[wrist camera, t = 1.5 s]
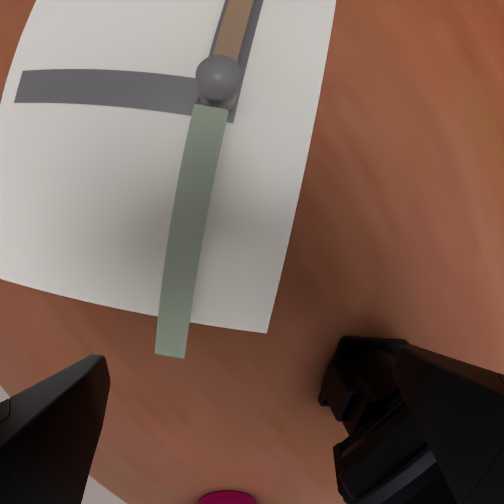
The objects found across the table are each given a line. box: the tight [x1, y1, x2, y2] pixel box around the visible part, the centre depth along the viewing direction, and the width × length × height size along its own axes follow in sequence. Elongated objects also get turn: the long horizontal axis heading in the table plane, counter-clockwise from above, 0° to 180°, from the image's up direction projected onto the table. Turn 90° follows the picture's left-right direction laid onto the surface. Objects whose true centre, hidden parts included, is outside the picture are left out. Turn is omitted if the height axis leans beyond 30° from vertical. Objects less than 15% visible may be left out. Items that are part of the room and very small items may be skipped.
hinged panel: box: [155, 104, 229, 359], centre depth 17 cm, size 12×2×4 cm, turn 168°
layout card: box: [0, 0, 336, 333], centre depth 15 cm, size 22×26×6 cm
